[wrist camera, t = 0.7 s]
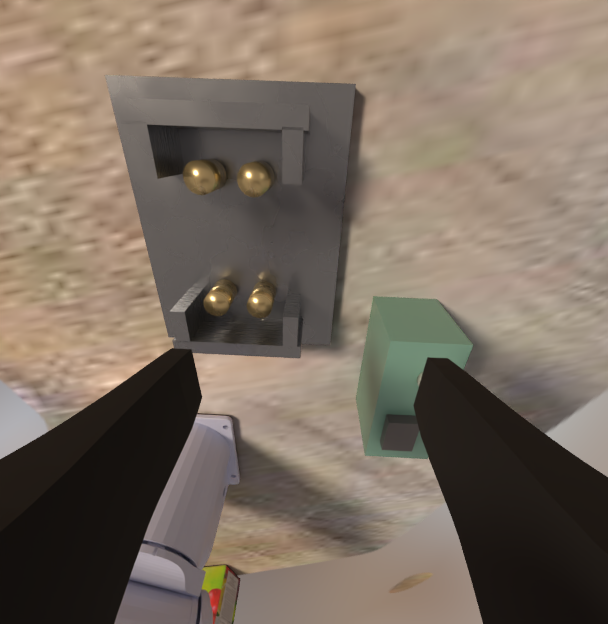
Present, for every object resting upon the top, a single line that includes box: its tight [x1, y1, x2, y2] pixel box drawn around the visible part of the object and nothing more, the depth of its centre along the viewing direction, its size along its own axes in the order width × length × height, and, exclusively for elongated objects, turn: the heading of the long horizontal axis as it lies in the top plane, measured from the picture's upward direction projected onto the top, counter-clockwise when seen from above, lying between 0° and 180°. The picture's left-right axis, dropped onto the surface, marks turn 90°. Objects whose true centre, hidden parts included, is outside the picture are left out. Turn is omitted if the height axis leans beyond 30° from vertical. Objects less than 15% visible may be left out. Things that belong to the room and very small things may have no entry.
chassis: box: [105, 75, 356, 358], centre depth 15 cm, size 14×11×4 cm
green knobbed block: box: [356, 296, 473, 459], centre depth 18 cm, size 9×4×6 cm, turn 178°
